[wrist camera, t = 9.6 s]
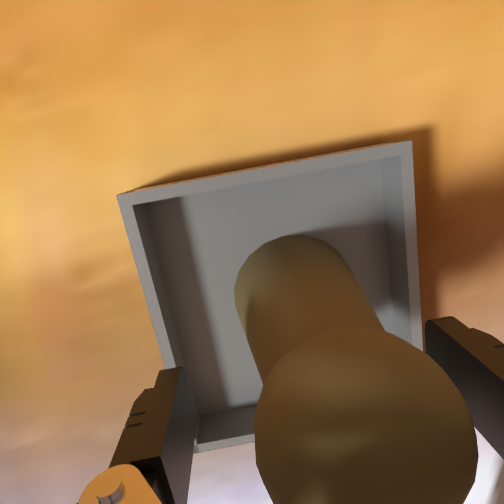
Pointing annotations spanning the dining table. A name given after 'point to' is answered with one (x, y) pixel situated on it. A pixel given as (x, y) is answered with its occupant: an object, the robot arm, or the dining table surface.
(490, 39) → the dining table surface
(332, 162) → the box
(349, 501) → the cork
